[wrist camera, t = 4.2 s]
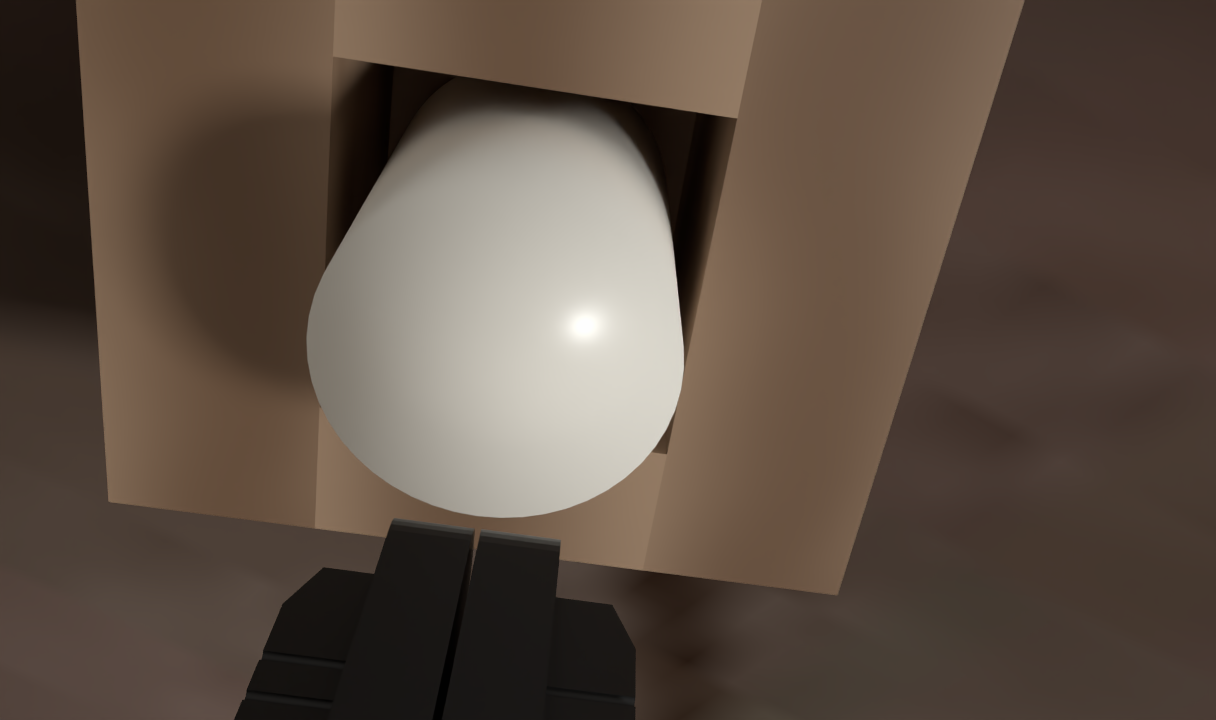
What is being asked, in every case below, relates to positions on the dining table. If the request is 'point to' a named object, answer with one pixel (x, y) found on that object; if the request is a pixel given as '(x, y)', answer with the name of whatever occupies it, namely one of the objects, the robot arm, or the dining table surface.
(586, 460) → the white egg
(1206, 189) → the dining table surface
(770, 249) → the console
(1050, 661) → the dining table surface
